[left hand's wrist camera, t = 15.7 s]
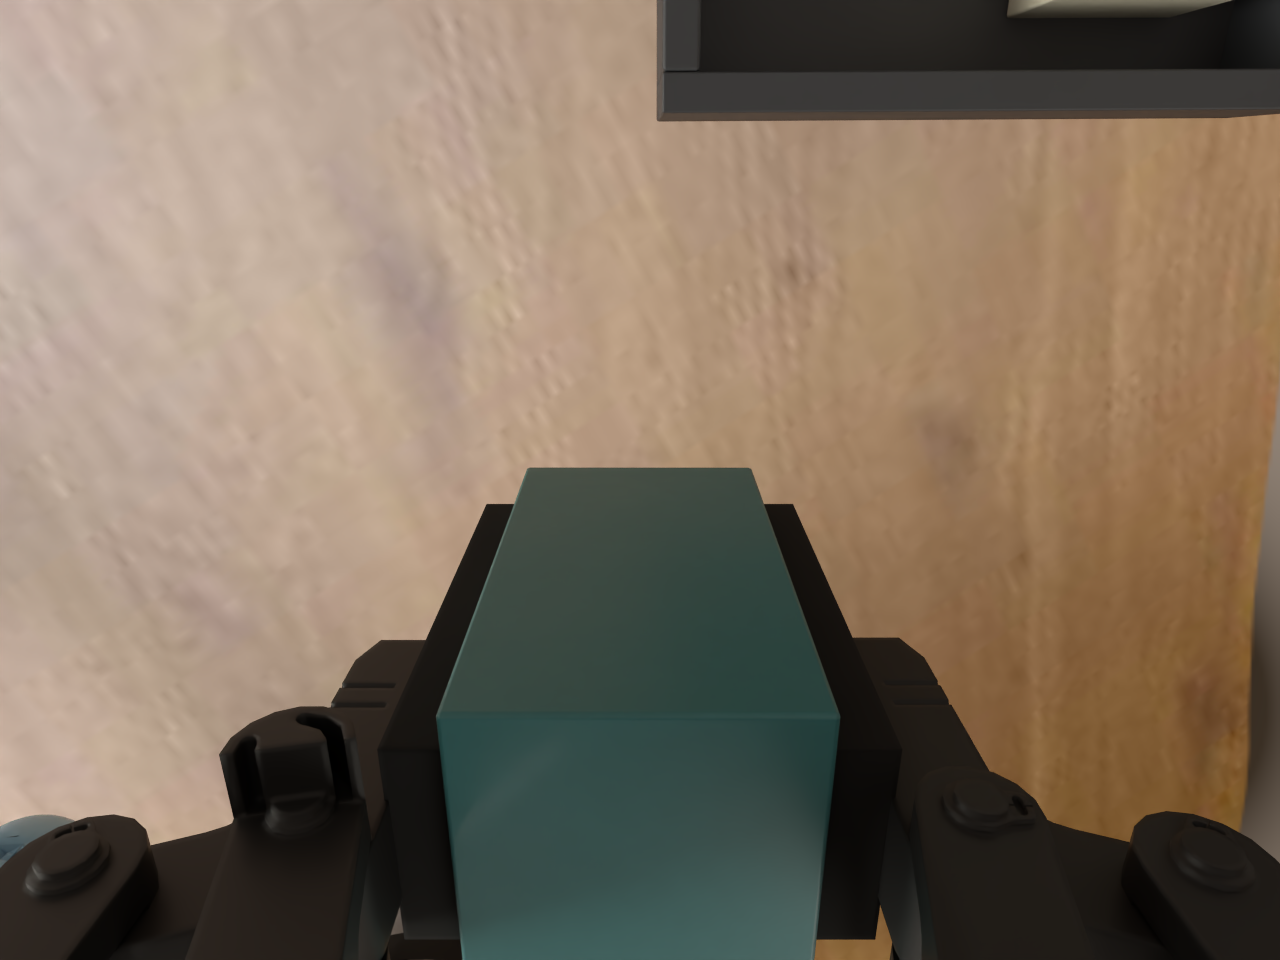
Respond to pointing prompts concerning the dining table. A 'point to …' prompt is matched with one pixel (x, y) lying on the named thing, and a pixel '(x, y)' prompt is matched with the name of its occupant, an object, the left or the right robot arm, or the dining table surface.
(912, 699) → the left robot arm
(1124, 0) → the cream block
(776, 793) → the teal block
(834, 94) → the pan
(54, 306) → the dining table surface
